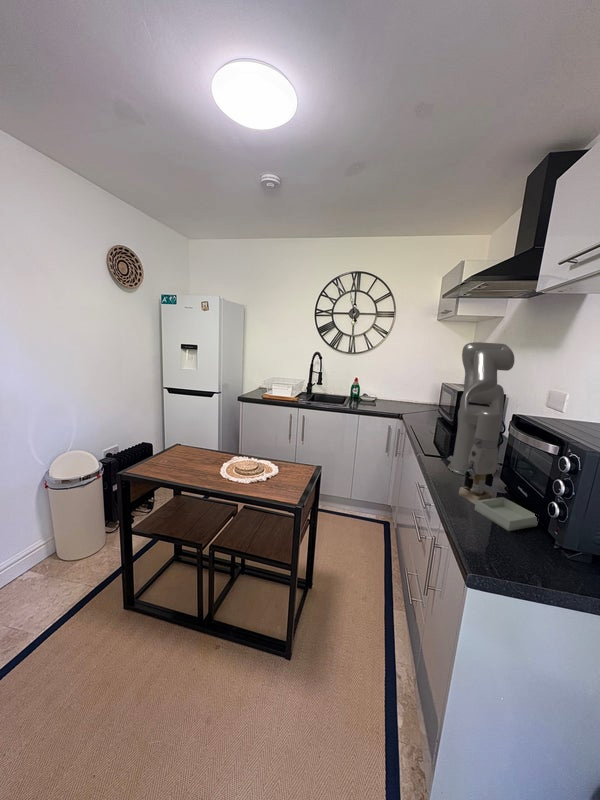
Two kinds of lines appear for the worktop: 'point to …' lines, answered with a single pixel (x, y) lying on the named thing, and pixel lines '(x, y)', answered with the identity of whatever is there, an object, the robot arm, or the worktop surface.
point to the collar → (473, 498)
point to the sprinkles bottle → (478, 485)
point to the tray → (506, 513)
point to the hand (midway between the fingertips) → (477, 486)
